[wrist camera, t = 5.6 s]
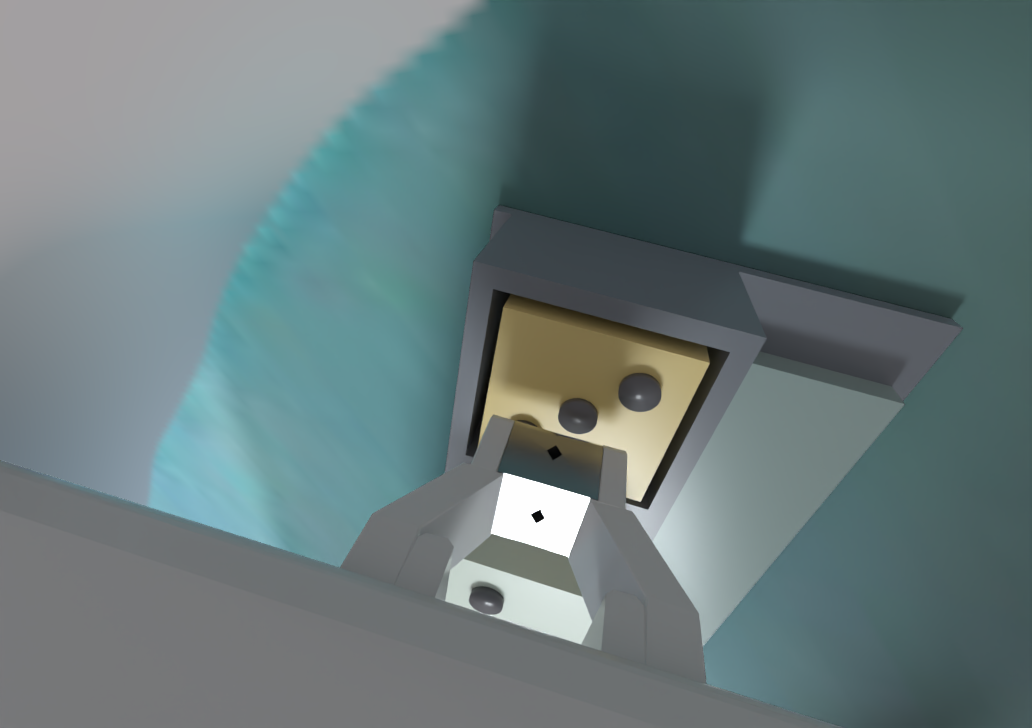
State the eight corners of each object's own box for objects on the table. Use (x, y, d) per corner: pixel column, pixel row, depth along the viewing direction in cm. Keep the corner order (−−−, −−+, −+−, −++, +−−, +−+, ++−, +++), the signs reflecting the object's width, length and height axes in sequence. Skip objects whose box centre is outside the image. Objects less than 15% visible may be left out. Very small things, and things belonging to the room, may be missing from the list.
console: (952, 318, 12) (1066, 416, 9) (685, 651, 22) (692, 754, 19) (498, 205, 13) (450, 254, 10) (441, 572, 23) (407, 657, 20)
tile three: (695, 292, 13) (711, 367, 10) (641, 417, 15) (640, 508, 12) (534, 251, 13) (501, 311, 10) (507, 379, 16) (474, 458, 13)
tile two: (623, 498, 14) (618, 616, 11) (586, 579, 17) (573, 694, 14) (483, 456, 15) (442, 559, 12) (467, 541, 17) (428, 645, 14)
